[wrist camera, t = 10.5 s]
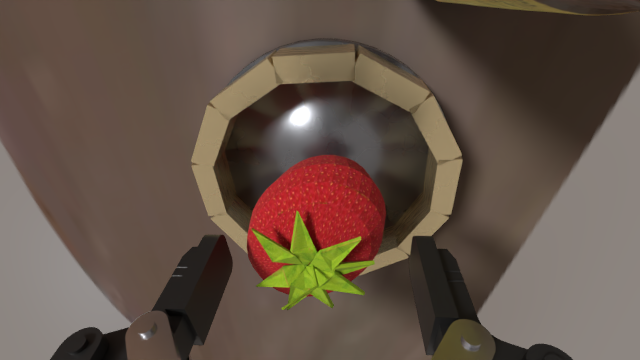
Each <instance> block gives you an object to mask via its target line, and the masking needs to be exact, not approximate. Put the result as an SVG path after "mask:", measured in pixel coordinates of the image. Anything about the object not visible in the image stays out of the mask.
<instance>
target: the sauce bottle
mask: <svg viewBox="0 0 640 360" xmlns="http://www.w3.org/2000/svg"><path fill="white" fill-rule="evenodd" d="M436 1H439V2H448V3H459V4H468V5H475V6H485V7H494V8H503V9H515V10H527V11H542V12H554V13H565V14H577V15H616V14H625V13H630V12H636V11H640V0H436Z"/></svg>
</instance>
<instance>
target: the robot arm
mask: <svg viewBox="0 0 640 360" xmlns="http://www.w3.org/2000/svg"><path fill="white" fill-rule="evenodd" d="M232 266H233V262H232V257H231V254H230V251H229V248H228V245H227V242H226V239H225V236H224V235H205V236H204V237H203V238H202V240H201V242H200V244H199V246H198V247H192V248H191V249H190V250H189V251H188V252H187V253H186V254H185V255H184V256H183V257H182V259H181V260H180V262H179V264H178V266H177V268H176V269H175V271H174V273H173V274H172V277H171V278H170V280H169V281H168V283H167V285H166V287H165V288H164V290H163V292H162V293H161V295H160V297H159V299H158V300H157V302H156V304H155V306H154V307H153V309H152V310H151V311H150V312H147V313H145V314H143V315H141V316H140V317H138V318H137V319H136V320H135V321H134V322H133V323H132V324H131V325H130V327H128V328H125V329H121V330H118V331H114V332H111V333H107V334H102V332H101V331H100V330H99V329H97V328H95V327H89V328H84V329H81V330H79V331H78V332H75V333H74V334H72V335H71V336H70V337H68V338H67V339H66V340H65V341H64V342H63V343H62V344H61V345H60V346H59V348H58V349H57V351H56V352H55V353H54V355H53V356H52V358H51V359H50V360H192V359H191V356H190V351H191V349H192V346H193V345H204V342H205V340H206V337H207V335H208V332H209V329H210V327H211V324H212V322H213V319H214V316H215V314H216V311H217V309H218V306H219V303H220V301H221V298H222V296H223V293H224V290H225V288H226V285H227V282H228V280H229V277H230V275H231V272H232ZM409 273H410V279H411V283H412V288H413V293H414V298H415V303H416V308H417V313H418V318H419V323H420V327H421V332H422V337H423V342H424V347H425V352H426V355H433V357H432V359H431V360H573V359H572V358H571V357H569V356H568V355H567V354H566V353H564V352H563V351H561V350H560V349H558V348H556V347H553V346H551V345H547V344H535V345H533V346H531V347H530V348H529V349H525V348H521V347H518V346H515V345H512V344H509V343H506V342H504V341H501V340H499V339H497V338H496V337H494V336H493V335H491V334H490V333H489V331H488V330H487V329H486V328H485V327H483V326H482V325H481V323H480V321H479V320H478V317H477V314H476V312H475V309H474V306H473V304H472V301H471V298H470V296H469V293H468V290H467V288H466V285H465V283H464V280H463V277H462V274H461V273H460V269H459V266H458V264H457V261H456V259H455V258H454V257H453V256H452V254H451V253H450V252H449V251H448V250H447V249H437V248H436V244H435V241H434V238H433V237H432V236H413V238H412V244H411V251H410V259H409Z"/></svg>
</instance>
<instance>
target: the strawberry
mask: <svg viewBox="0 0 640 360" xmlns="http://www.w3.org/2000/svg"><path fill="white" fill-rule="evenodd" d="M385 217H386V209H385V202H384V199H383V197H382V194H381V192H380V190H379V189H378V187H377V186H376V184H375V183H374V181H373V180H372V178H371V177H370V176H369V174H368V173H367V172H366V170H365V169H364V168H363V167H362V166H360V165H359V164H358V163H357V162H355V161H353V160H351V159H349V158H346V157H342V156H337V155H320V156H315V157H310V158H308V159H305V160H303V161H300V162H298V163H297V164H295V165H294V166H292V167H290V168H289V169H288V170H287V171H286V172H285V173H283V174H282V175H281V176H280V177H279V178H278V179H277V180H276V181H275V182H274V183H272V184H271V185H270V186H269V187H268V188H267V189H266V191H265V192H264V193H263V194H262V196H261V197H260V198H259V200H258V201H257V203H256V205H255V207H254V209H253V212H252V216H251V220H250V224H249V230H248V235H247V252H248V257H249V260H250V262H251V264H252V266H253V268H254V269H255V270H256V272H257V273H258V274H259V275H260V277H261V278H262V279H263V281H262V282H261V283H259V284H258V285H256V286H257V287H273V288H274V289H276V290H278V291H280V292H283V293H286V294H289V300H288V304H287V305H286V306H284V307H283V308H281V309H282V310H285V309H286V308H287V310H289V309H290V308H291V307H293V306H294V305H295V304H297V303H298V302H299V301H301V300H302V299H303V298H305V297H306V296H314V297H316V298H317V299H319V300H320V301H322V302H324V303H325V304H327V305H328V306H330V307H331V308H333V306H334V304H333V302H332V301H331V299H330V297H329V295H328V293H330V292H332V291H339V292H347V293H354V294H361V295H365V292H364V291H363V290H362V289H360V288H359V287H357V286H356V285H355V284H353V283H352V282H351V281H352V280H353V279H355V278H356V277H357V276H358V275H359V274H361V273H362V272H363V271H364V270H365V269H366V268H367V267H368V266H371V265H374V264H375V262H374V260H373V259H374V258H375V256H376V255H377V253H378V251H379V248H380V245H381V242H382V237H383V231H384V225H385Z"/></svg>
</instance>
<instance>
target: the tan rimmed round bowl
mask: <svg viewBox="0 0 640 360" xmlns="http://www.w3.org/2000/svg"><path fill="white" fill-rule="evenodd" d="M320 155H337V156H342V157H346V158H349V159H351V160H353V161H355V162H357V163H358V164H359V165H360V166H362V167H363V168H364V169H365V170H366V172H367V173H368V174H369V176H370V177H371V178H372V180H373V181H374V183H375V184H376V186H377V187H378V189H379V190H380V192H381V194H382V197H383V199H384V202H385V209H386V217H385V225H384V231H383V237H382V242H381V245H380V248H379V251H378V253H377V255H376V256H375V258H374V259H373V260H374V262H375V264H374V265H371V266H368V267H367V268H366V269H365V270H364V271H363V272H362V273H361V274H359V276H360V275H363V274H365V273H368V272H371V271H374V270H376V269H379V268H382V267H384V266H387V265H390V264H393V263H395V262H398V261H401V260H404V259H406V258H409V256H408V254H409V255H410V251H411V244H412V238H413V236H432V235H433V234H434V233H435V232H436V231H437V230H438V229H439V228H440V227H441V226H442V225H443V224H444V223H445V222H446V221H447V220H448V218H449V216H448V214H451V213H452V208H453V203H454V198H455V194H456V189H457V184H458V180H459V175H460V170H461V165H462V161H463V159H462V157H461V156H462V153H461V151H460V149H459V147H458V145H457V143H456V141H455V139H454V137H453V135H452V133H451V131H450V129H449V126H448V124H447V121H446V119H445V116H444V113H443V111H442V109H441V107H440V105H439V104H438V102H437V100H436V98H435V97H434V95H433V94H432V92H431V91H430V90H429V88H428V87H427V86H426V84H425V83H424V82H423V81H422V80H421V79H420V77H419V76H418V75H416V74H415V73H414V72H413V71H412V70H411V69H410V68H409V67H408V66H407V65H405V64H404V63H402V62H401V61H399V60H398V59H396V58H395V57H393V56H391V55H390V54H387V53H385V52H383V51H381V50H379V49H377V48H375V47H372V46H368V45H365V44H362V43H358V42H354V41H348V40H341V39H311V40H304V41H298V42H294V43H291V44H287V45H284V46H281V47H278V48H276V49H274V50H272V51H270V52H267V53H265V54H263V55H262V56H260V57H259V58H257V59H256V60H254V61H253V62H251V63H250V64H249V65H247V66H246V67H245V68H244V69H243V70H242V71H241V72H240V73H238V74H237V75H236V76H235V77H234V78H233V79H232V80H231V82H230V83H229V84H228V85H227V86H226V87H225V88H224V89H223V90H222V91H221V92H220V93H219V94H217V95H216V96H215V97H214V98H213V99H212V100H211V101H210V103H209V104H208V105H207V108H206V112H205V115H204V119H203V122H202V126H201V129H200V132H199V136H198V139H197V143H196V146H195V150H194V153H193V157H192V160H191V162H193V164H192V165H191V166H192V169H193V172H194V175H195V178H196V181H197V184H198V187H199V189H200V192H201V195H202V198H203V201H204V204H205V207H206V210H207V213H208V216H212V217H211V220H212V221H213V222H215V223H216V224H217V225H218V226H219V227H220V228H221V229H222V230H223V231H224V232H225V233H226V234H227V235H228V236H229V237H231V238H232V239H233V240H234V241H235V242H236V243H237V244H238V245H239V246H240V247H241V248H242V249H243V250H244V251H245V252H247V235H248V230H249V224H250V220H251V216H252V212H253V209H254V207H255V205H256V203H257V201H258V200H259V198H260V197H261V196H262V194H263V193H264V192H265V191H266V189H267V188H268V187H269V186H270V185H271V184H272V183H274V182H275V181H276V180H277V179H278V178H279V177H280V176H281V175H282V174H283V173H285V172H286V171H287V170H288V169H289V168H290V167H292V166H294V165H295V164H297V163H298V162H300V161H303V160H305V159H308V158H310V157H315V156H320ZM247 253H248V252H247Z"/></svg>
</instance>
